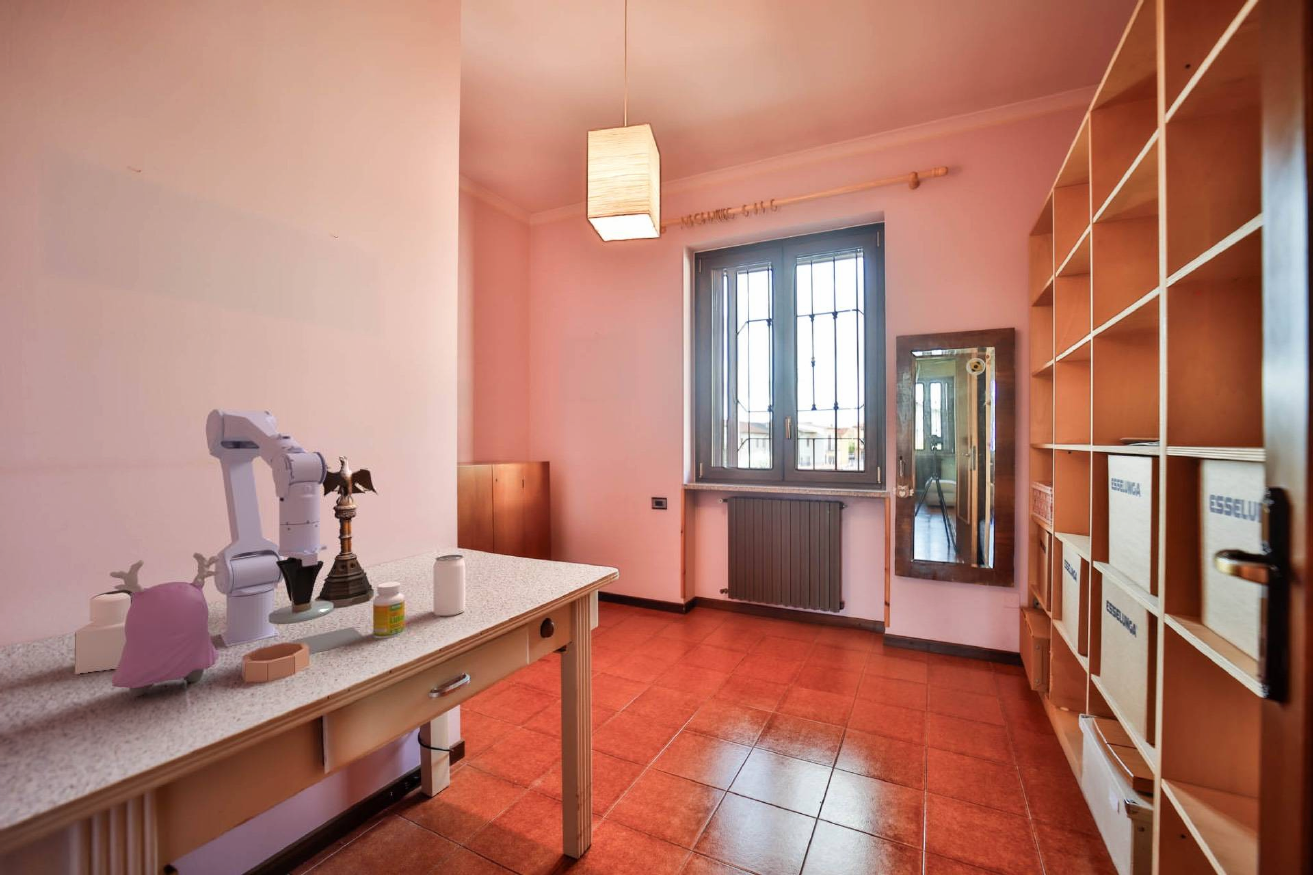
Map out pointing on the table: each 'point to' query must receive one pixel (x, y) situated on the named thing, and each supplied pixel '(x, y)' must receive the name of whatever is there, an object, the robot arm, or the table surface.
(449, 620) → the table surface
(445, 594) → the can
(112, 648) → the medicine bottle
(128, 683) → the toy character
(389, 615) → the supplement bottle
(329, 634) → the mat
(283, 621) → the lid
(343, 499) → the bird statue
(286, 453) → the robot arm
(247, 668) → the bowl
